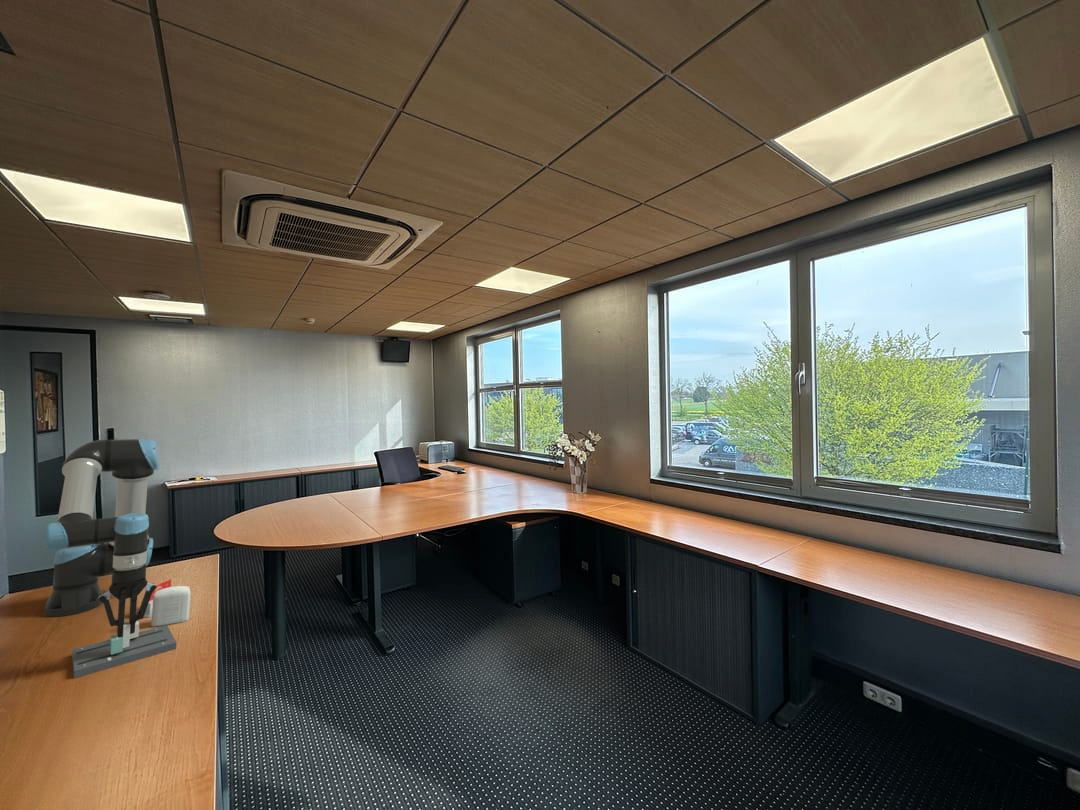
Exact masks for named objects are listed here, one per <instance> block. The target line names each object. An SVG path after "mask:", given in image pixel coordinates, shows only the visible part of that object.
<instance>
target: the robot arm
mask: <svg viewBox="0 0 1080 810" xmlns="http://www.w3.org/2000/svg"><path fill="white" fill-rule="evenodd" d="M159 466H160V465H159V457H158V449H157V442H156V440H153V439H143V438H142V439H141V438H139V439H138V438H137V439H136V438H135V439H133V438H132V439H97V440H92V441H90V442H86V443H84V444H82V445H80V446H79V447H77V448H76V449H74V450H73V451H72V452H71V453H69V454H68V456H67V457H66V459H64V461H63V464H62V468H61V473H62V475H63V476H64V481H63V486H62V487H63V488H62V492H61V497H60V498H61V499H60V504H59V509H58V510H59V511H58V516H57V521H56V522H53V523H52V522H51V523H49V524H47V525H46V526H45V529H44V536H43V537H44V538H43V546H44V548H45V549H47V550H57V551H56V552H55V554H54V555H55V556H54V559H53V560H54V561H53V566H54V567H53V580H52V590H51V591H52V592H51V593H50V595H49V598H48V599H47V601H46V603H45V605H44V606H43V607H44V609H43V615H44V616H46V617H64V616H65V617H66V616H71V615H76V614H79V613H84V612H88V611H90V610H93V609H96V608H97V607H100V606H101V605H102V604H103V606H104V609H105V612H106V616H107V619H108V623H109V626H110V627H116V628H117V631H116V634H117V635H118V637H121V636H123V648H125V647H129V641H130V634H132V633H134V632H135V623H136V621H138V622H139V621H140V620H142V619H144V618H145V617H144V615H145V612H146V609H147V606H148V603H149V600H150V597H151V595H152V593H153V592H154V590H155V591H156V589H157V588H156V585H157V584H155V583H150V582H148V580H147V578H146V577H147V566H148V565H149V564H150V560H151V558H152V555H153V554H152V553H153V548H154V539H153V537H150V536H149V527H150V521H149V519H150V518H149V515H148V514H147V513H146V512H147V511H146V510H147V497H148V496H147V495H148V480H149V478H151V477H152V476H154V471H157V470H158V469H159V468H160V467H159ZM102 472H103V473H104V472H107V473H109V472H110V473H111V476H112V478H114V479H116V495H115V499H116V500H115V513H114V515H115V516H111V517H104V518H94V508H95V502H96V501H95V499H96V491H97V490H96V489H97V479H98V476H99V475H100V474H102ZM106 575H111V583H110V584H111V585H110V586H109V588H108V590H107V591H105V592H104V593H103V591H102V589H101V587H100V585H99V577H101V576H106ZM144 589H145V590H146V592H145V590H144ZM142 591H144V595H143V597H142V601H141V604H140V607H139V609H138V612H137V604H138V603H137V602H138V601H137V600H138V596H139V595H140V594H141V592H142ZM111 595H112V596H113V597H115V598H116V599H118V605H117V606H118V610H117V619H115V616H114V614H113V613H114V612H113V609H112V606H111V602H110V599H111ZM126 599H130V602H129V617H128V618H129V619H128V621H126V622H125V613H126V611H125V610H126V601H127V600H126Z"/></svg>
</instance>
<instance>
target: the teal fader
mask: <svg viewBox="0 0 1080 810" xmlns="http://www.w3.org/2000/svg"><path fill="white" fill-rule="evenodd" d="M109 640H110V649H109V650H110V654H111V655H112V654H116V653H119V652H123V636H121V637H118V635H117V633H116V634H114V635H109Z"/></svg>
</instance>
